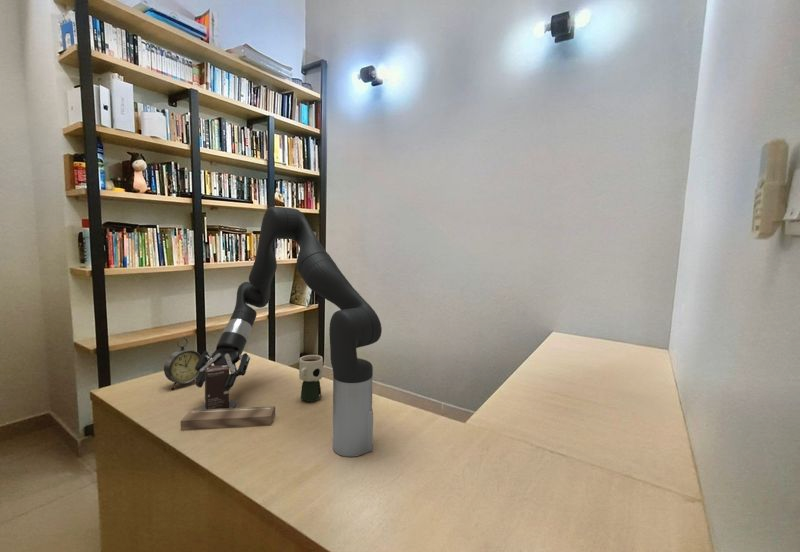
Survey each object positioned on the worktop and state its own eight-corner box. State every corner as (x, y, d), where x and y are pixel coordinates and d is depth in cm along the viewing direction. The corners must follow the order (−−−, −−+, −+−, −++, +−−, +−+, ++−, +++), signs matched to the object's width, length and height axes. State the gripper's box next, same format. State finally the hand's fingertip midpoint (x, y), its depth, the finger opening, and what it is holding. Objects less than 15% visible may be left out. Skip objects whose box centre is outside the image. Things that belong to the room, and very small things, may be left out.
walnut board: (275, 414, 100) (275, 405, 100) (271, 425, 95) (270, 415, 94) (190, 419, 97) (190, 409, 97) (180, 430, 91) (180, 420, 91)
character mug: (312, 408, 105) (312, 364, 104) (290, 404, 107) (290, 362, 106) (329, 393, 115) (329, 354, 114) (310, 390, 117) (310, 352, 116)
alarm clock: (170, 392, 114) (169, 342, 113) (162, 388, 117) (160, 339, 116) (204, 381, 123) (203, 335, 122) (195, 378, 126) (194, 333, 125)
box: (206, 414, 99) (205, 371, 98) (204, 408, 103) (203, 367, 102) (230, 409, 102) (229, 368, 101) (228, 403, 106) (227, 363, 105)
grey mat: (237, 402, 108) (237, 400, 108) (228, 416, 99) (228, 414, 99) (205, 403, 106) (205, 402, 106) (193, 418, 98) (193, 416, 97)
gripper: (207, 329, 109) (181, 380, 98) (252, 331, 107) (231, 383, 97) (218, 342, 114) (195, 391, 104) (261, 344, 113) (242, 394, 102)
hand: (212, 387), depth 100 cm, fingers open, 8 cm apart
